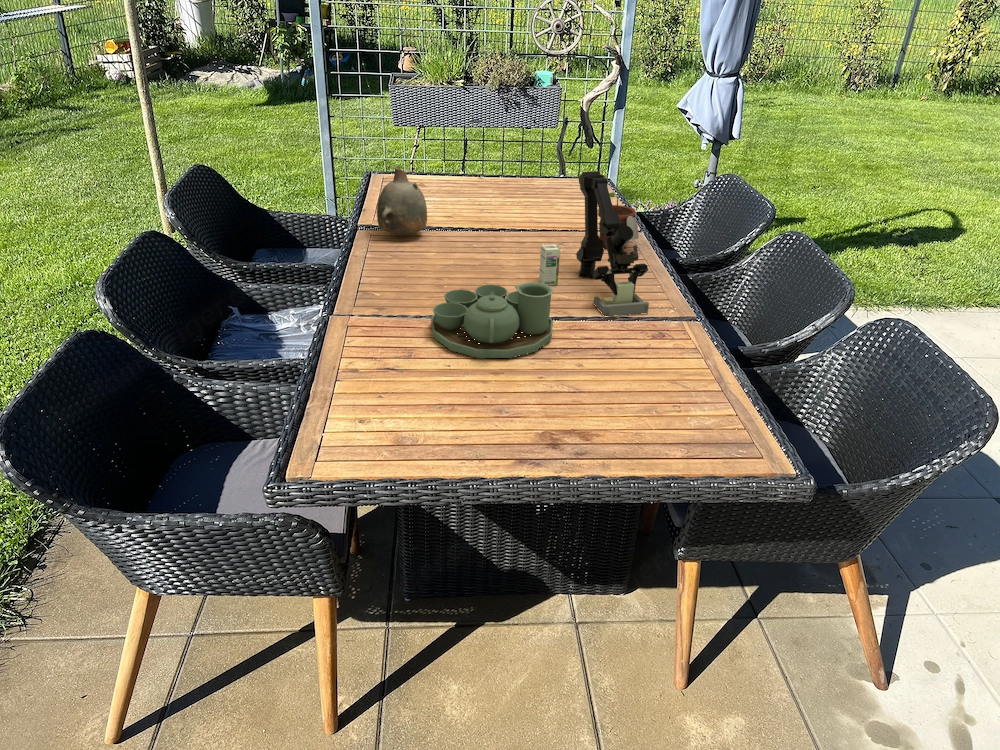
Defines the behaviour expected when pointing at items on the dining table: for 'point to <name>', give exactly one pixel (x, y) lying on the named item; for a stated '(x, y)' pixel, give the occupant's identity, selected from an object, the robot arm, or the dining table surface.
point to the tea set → (494, 320)
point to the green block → (623, 293)
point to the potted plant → (623, 219)
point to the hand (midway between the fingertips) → (625, 294)
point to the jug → (401, 206)
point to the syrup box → (549, 264)
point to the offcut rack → (621, 306)
